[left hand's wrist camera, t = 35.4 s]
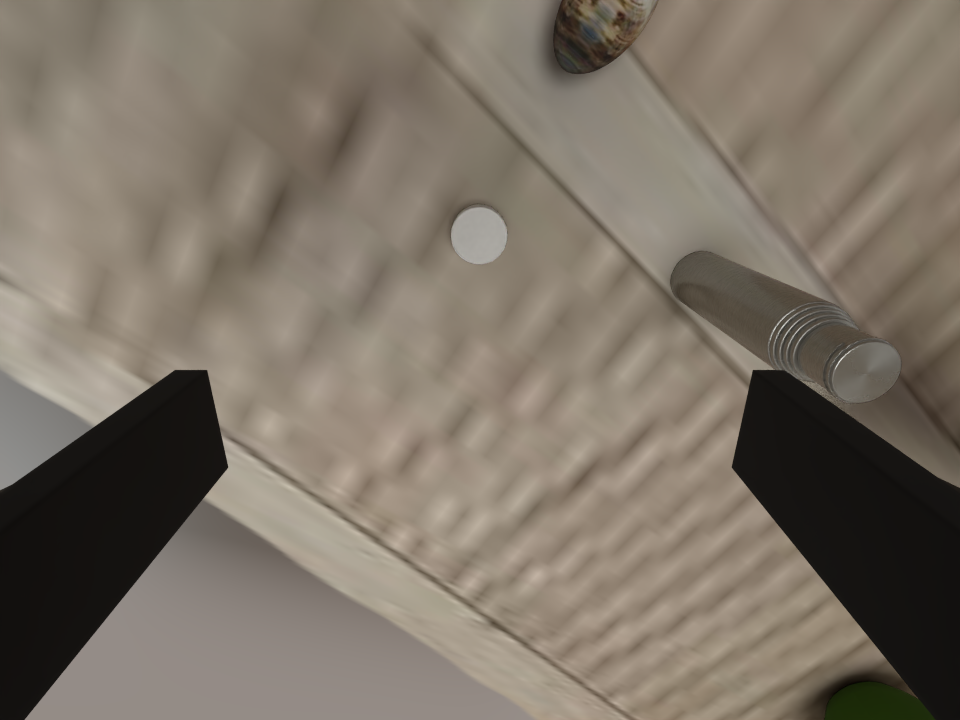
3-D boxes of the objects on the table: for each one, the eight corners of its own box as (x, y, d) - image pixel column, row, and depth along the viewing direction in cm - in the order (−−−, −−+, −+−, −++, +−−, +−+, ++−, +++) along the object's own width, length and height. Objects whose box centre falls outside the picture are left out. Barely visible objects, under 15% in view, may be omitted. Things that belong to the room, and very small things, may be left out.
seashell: (610, -73, 36) (644, -133, 28) (668, -15, 37) (715, -57, 30) (526, 51, 39) (537, 26, 31) (582, 102, 40) (606, 89, 33)
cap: (445, 249, 44) (443, 254, 42) (461, 196, 43) (460, 198, 40) (495, 266, 45) (496, 272, 43) (513, 214, 43) (516, 217, 41)
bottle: (683, 244, 44) (848, 316, 24) (734, 259, 45) (937, 341, 25) (662, 297, 46) (799, 403, 26) (711, 310, 47) (883, 425, 27)
